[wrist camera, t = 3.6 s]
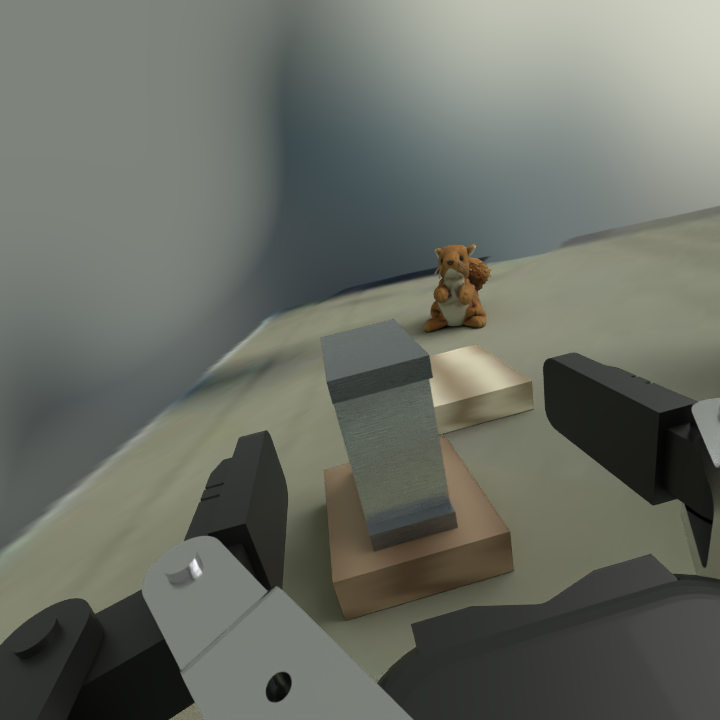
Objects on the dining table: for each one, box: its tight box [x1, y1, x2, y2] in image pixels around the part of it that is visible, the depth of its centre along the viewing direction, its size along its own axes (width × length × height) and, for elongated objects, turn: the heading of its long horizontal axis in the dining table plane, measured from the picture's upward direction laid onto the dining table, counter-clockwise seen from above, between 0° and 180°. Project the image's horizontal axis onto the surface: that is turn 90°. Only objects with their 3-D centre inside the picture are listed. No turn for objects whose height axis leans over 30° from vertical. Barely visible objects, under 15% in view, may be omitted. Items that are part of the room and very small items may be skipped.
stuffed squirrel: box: [424, 244, 491, 332], centre depth 64 cm, size 10×14×13 cm
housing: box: [321, 319, 458, 552], centre depth 23 cm, size 5×8×11 cm, turn 8°
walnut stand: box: [324, 437, 514, 621], centre depth 25 cm, size 10×10×3 cm
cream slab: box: [429, 344, 534, 434], centre depth 41 cm, size 12×12×3 cm
